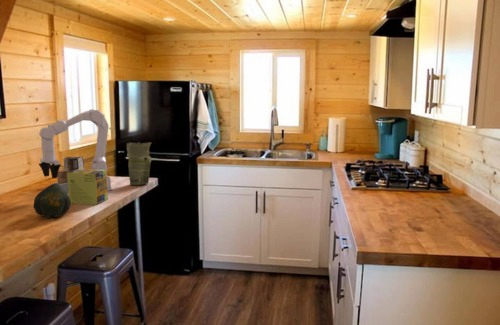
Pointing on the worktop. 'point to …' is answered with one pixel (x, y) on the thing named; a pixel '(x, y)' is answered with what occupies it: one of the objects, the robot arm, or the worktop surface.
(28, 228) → the worktop surface
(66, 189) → the base block
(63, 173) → the walnut block
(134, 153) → the pouch
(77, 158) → the coffee box
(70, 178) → the protein box
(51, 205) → the squash
